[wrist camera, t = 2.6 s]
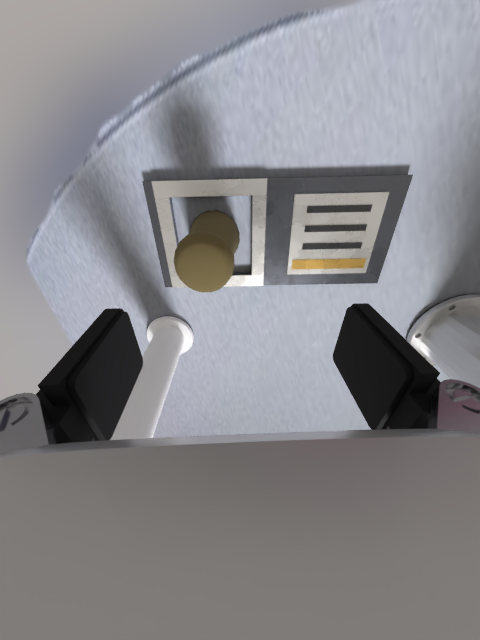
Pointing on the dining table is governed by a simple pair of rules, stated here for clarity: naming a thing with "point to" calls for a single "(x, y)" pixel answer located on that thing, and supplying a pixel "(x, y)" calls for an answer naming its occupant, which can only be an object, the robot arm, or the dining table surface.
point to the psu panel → (295, 226)
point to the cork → (207, 252)
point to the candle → (154, 378)
